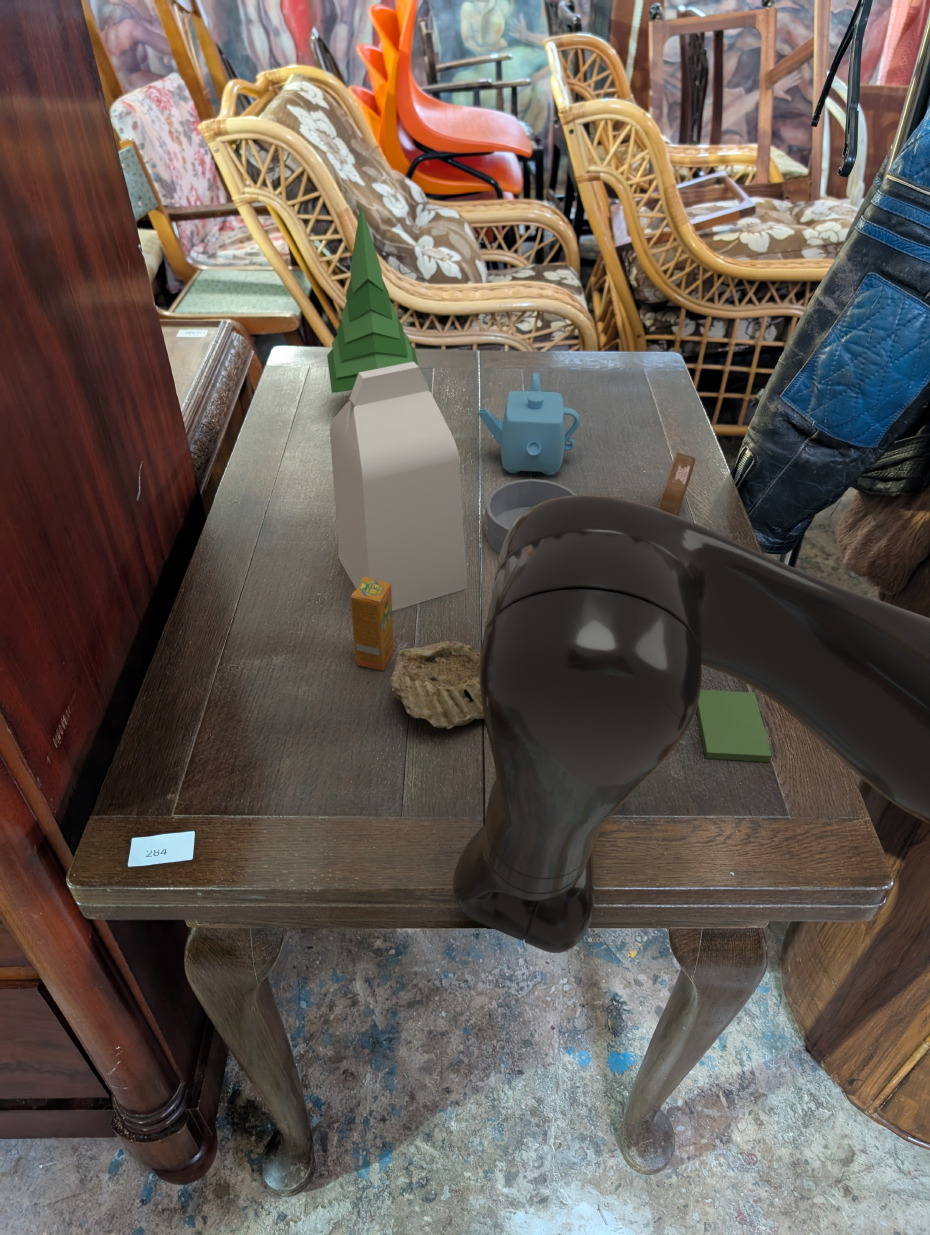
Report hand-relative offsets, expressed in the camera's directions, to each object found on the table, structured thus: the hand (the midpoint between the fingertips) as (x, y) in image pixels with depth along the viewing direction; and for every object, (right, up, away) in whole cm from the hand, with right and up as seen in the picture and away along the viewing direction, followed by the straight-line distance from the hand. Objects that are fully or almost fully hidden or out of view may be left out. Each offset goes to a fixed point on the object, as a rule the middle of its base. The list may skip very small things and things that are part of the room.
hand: (631, 605), depth 82 cm
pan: (-9, +9, +19) cm, 23 cm away
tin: (+9, +10, +21) cm, 25 cm away
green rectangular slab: (+9, -12, -4) cm, 16 cm away
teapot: (-8, +21, +33) cm, 40 cm away
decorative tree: (-31, +31, +43) cm, 62 cm away
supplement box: (-27, -6, +3) cm, 28 cm away
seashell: (-19, -10, -1) cm, 22 cm away
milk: (-25, +4, +14) cm, 29 cm away
